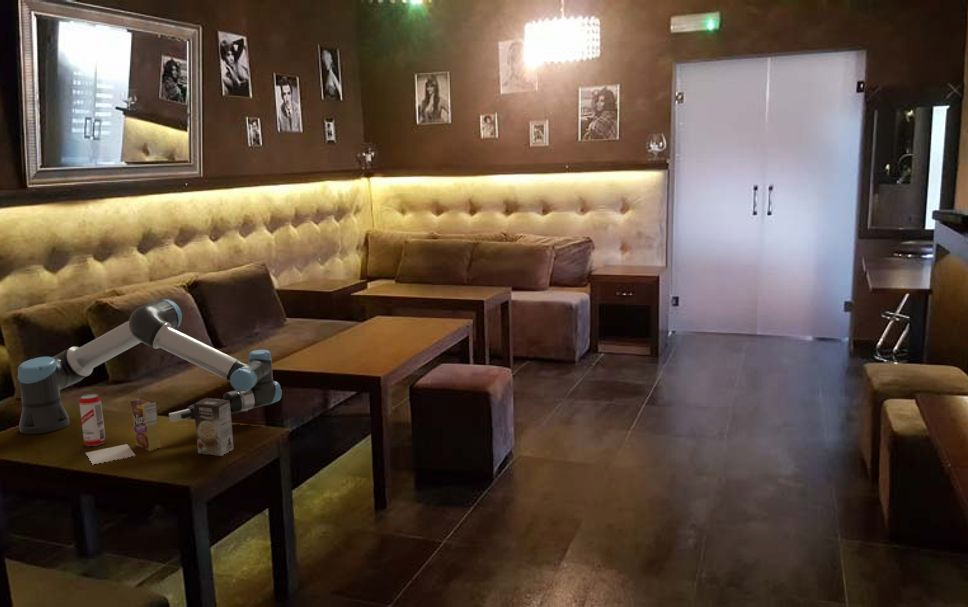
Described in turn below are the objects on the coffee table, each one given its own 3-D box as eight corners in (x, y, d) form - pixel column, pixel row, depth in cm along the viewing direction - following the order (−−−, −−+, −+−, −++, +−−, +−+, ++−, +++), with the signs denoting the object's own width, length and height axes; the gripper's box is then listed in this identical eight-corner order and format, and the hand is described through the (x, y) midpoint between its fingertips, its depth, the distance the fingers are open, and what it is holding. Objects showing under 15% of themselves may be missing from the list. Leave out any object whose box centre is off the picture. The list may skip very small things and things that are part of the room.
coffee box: (196, 453, 244) (192, 403, 241) (210, 446, 250) (205, 397, 247) (222, 456, 241) (217, 405, 238) (235, 449, 247) (230, 399, 244)
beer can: (97, 447, 251) (91, 399, 248) (80, 446, 253) (73, 398, 250) (110, 440, 257) (104, 393, 254) (93, 440, 259) (87, 392, 256)
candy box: (134, 445, 252) (129, 399, 249) (147, 442, 255) (142, 396, 253) (148, 452, 246) (143, 404, 244) (161, 447, 250) (156, 401, 247)
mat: (85, 453, 246) (85, 452, 246) (127, 445, 253) (127, 443, 253) (92, 465, 237) (92, 464, 236) (135, 456, 243) (135, 454, 243)
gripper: (248, 415, 267) (180, 433, 251) (229, 407, 276) (162, 424, 260) (246, 394, 266) (177, 410, 250) (227, 386, 275) (160, 402, 259)
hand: (170, 418), depth 255 cm, fingers closed
